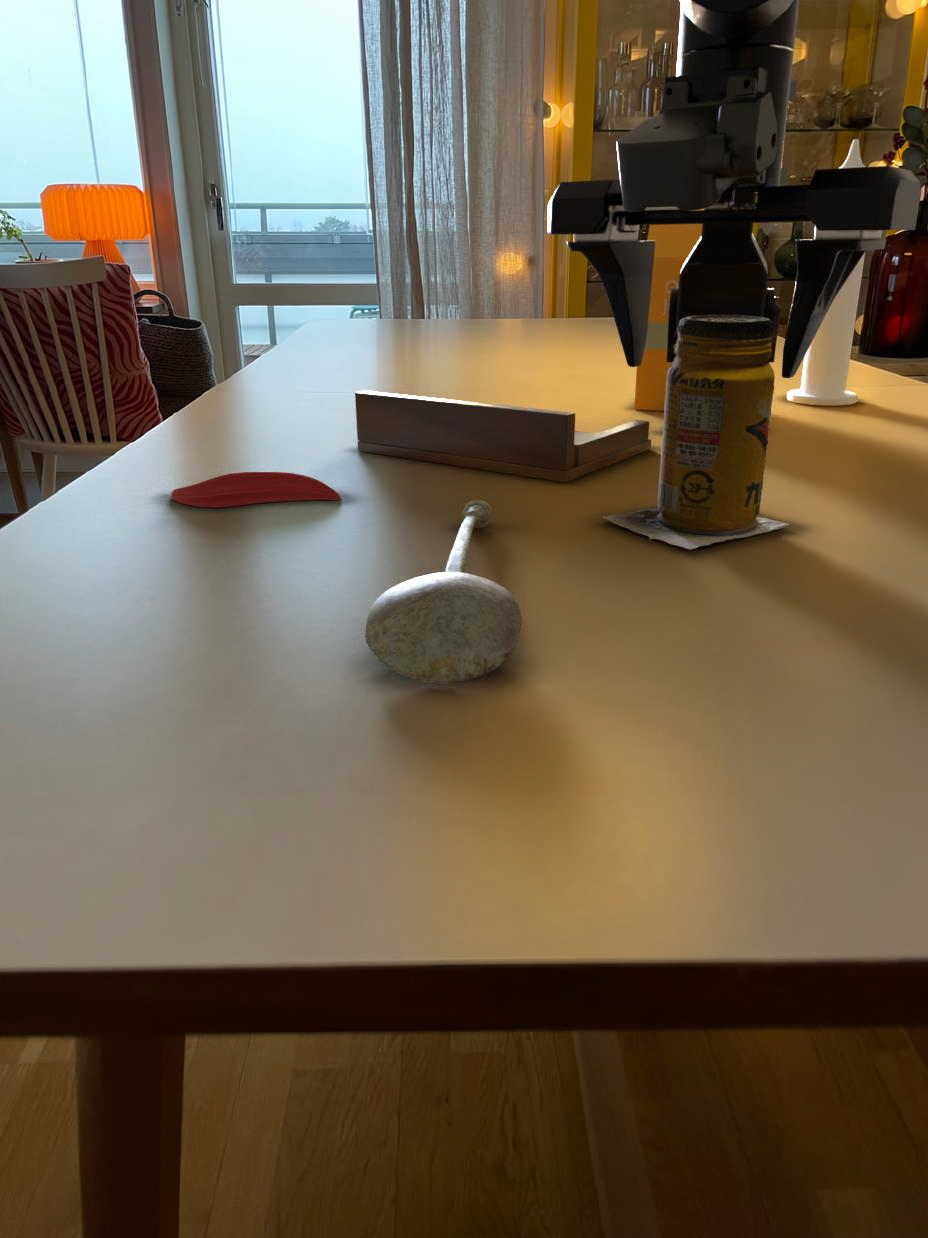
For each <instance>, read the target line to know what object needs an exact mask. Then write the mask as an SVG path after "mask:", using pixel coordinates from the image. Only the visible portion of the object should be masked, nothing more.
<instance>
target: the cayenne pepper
mask: <svg viewBox="0 0 928 1238" xmlns="http://www.w3.org/2000/svg"><path fill="white" fill-rule="evenodd" d="M170 499H171V500H172V501H175V502H177V503H179V504H183V505H187V506H194V507H199V508H200V507H201V508H227V507H238V506H245V505H253V504H263V503H276V502H277V503H278V502H292V501H293V502H294V501H321V500H322V501H323V500H324V501H342V498H341V495H340V494H339V493H338V492H337V491H336V490H335V489H334V488H332V487H330V486H329V485H327V484H326V483H324V482H323V481H322V480H321V481H320V480H319V479H317V478H314V477H311V476H308V475H304V474H300V473H295V472H288V471H241V472H231V473H226V474H222V475H219V476H214V477H212V478H209V479H206V480H203V481H200V482H198V483H195V484H190V485H187V486H183V487H178V488H175V489H173V490H172V492H171V495H170Z"/></svg>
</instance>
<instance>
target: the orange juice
mask: <svg viewBox="0 0 928 1238" xmlns="http://www.w3.org/2000/svg"><path fill="white" fill-rule="evenodd" d="M703 210H704V209H699V210H691V211H703ZM702 225H703V224H668V225H649V226H648V227H649V229H648V232H647V233H648V234H647V237H646V238H647V239H646V241H655V254H654V265H653V275H652V286H651V296H650V307H649V318H648V329H647V339H646V344H645V349H644V354H643V359H642V363H641V365H640V366H637V367H636V374H635V393H634V407H633V408H634V410H637V411H638V410H640V411H657V412H658V411H659V412H660V411H661V412H664V410H665V396H666V383H667V373H668V369H669V368H670V367H671V365H672V363H673V362H667V342H668V320H669V305H670V295H671V289H672V288H678V289H679V277H680V273H681V270H682V267H683V265H684V262H685V261H686V259H687V258H688V256H689V255H690V253H691V251H692V250H693V248H694V247H695V245H696V243H697V242H698V240H699V239H700V237H701V236H702Z"/></svg>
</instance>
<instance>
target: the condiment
mask: <svg viewBox="0 0 928 1238" xmlns="http://www.w3.org/2000/svg"><path fill="white" fill-rule="evenodd" d="M677 330H678V340H677V344H676V347H675V353H676V357H675V358H674V361H673V363H672V365H671V367H670V368H669V369H668V373H667V383H666V396H665V410H664V411H663V425H662V438H661V451H660V452H661V454H660V465H659V479H658V493H657V507H652V508H650V509H649V508H642V509H639V510H636V511H631V512H627V513H615V514H609V515H606V516H602V519H604V520H607V521H610V522H611V523H612V524H614V525H617V526H619V527H622V528H625V529H627V530H629V531H632V532H634V533H637V534H639V535H643V536H646V537H648V538H649V540H653V539H654V540H659V541H663V542H664V543H667V544H668V545H669V544H670V545H671V546H678V547H681V548H684V549H686V550H693V549H697V548H700V547H703V546H710V545H712V544H714V543H721V542H725V541H727V540H729V541H730V540H734V539H742V538H747V537H752V536H755V535H760V534H763V533H769V532H772V531H773V530H780V529H783V528H786V527H788V526H789V525H790V523H786V522H783V521H779V520H775V519H773V520H772V519H771V518H767V517H765V518H764V517H762V516H759V515H760V513H761V511H760V509H761V502H762V493H763V489H764V488H763V487H764V475H765V470H766V469H765V468H766V455H767V449H768V445H769V440H768V439H769V431H770V423H771V414H772V406H773V398H774V392H775V379H776V377H775V371H774V369H773V367H772V365H771V364H770V363H769V359H770V357H771V355H772V349H771V339H772V332H773V331H774V329H773V321H771V320H770V319H768V318H764V317H755V316H740V315H700V316H688V317H684V318H682V319H681V320H680V322H679V325H678V327H677Z"/></svg>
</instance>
